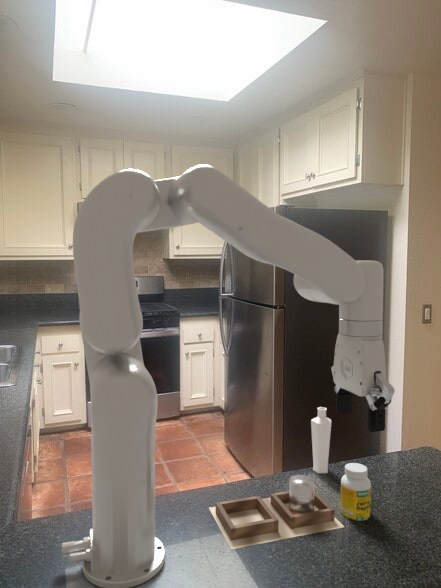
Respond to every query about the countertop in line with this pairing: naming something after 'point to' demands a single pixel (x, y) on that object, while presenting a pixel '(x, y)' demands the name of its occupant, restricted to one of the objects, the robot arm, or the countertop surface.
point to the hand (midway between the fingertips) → (359, 421)
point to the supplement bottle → (355, 492)
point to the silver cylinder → (301, 494)
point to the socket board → (270, 519)
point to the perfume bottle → (321, 440)
